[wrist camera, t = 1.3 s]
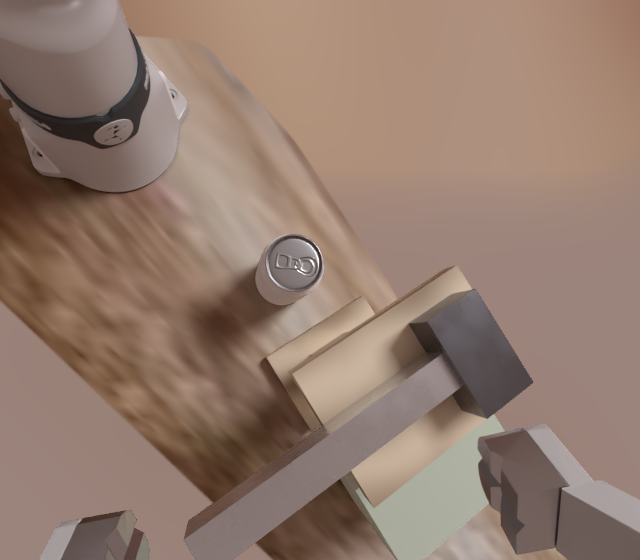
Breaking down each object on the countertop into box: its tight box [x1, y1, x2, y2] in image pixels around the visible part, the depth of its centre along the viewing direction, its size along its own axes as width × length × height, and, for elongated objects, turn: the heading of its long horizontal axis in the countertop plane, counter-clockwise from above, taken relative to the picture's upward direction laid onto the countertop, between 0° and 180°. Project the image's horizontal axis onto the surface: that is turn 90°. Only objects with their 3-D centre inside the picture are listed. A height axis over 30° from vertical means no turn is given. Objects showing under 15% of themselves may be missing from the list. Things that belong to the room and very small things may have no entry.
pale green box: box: [340, 414, 505, 560], centre depth 44 cm, size 8×14×16 cm, turn 122°
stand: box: [266, 265, 486, 508], centre depth 40 cm, size 10×14×24 cm
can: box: [255, 234, 324, 305], centre depth 46 cm, size 6×6×12 cm
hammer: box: [184, 289, 533, 560], centre depth 26 cm, size 7×22×3 cm, turn 122°
